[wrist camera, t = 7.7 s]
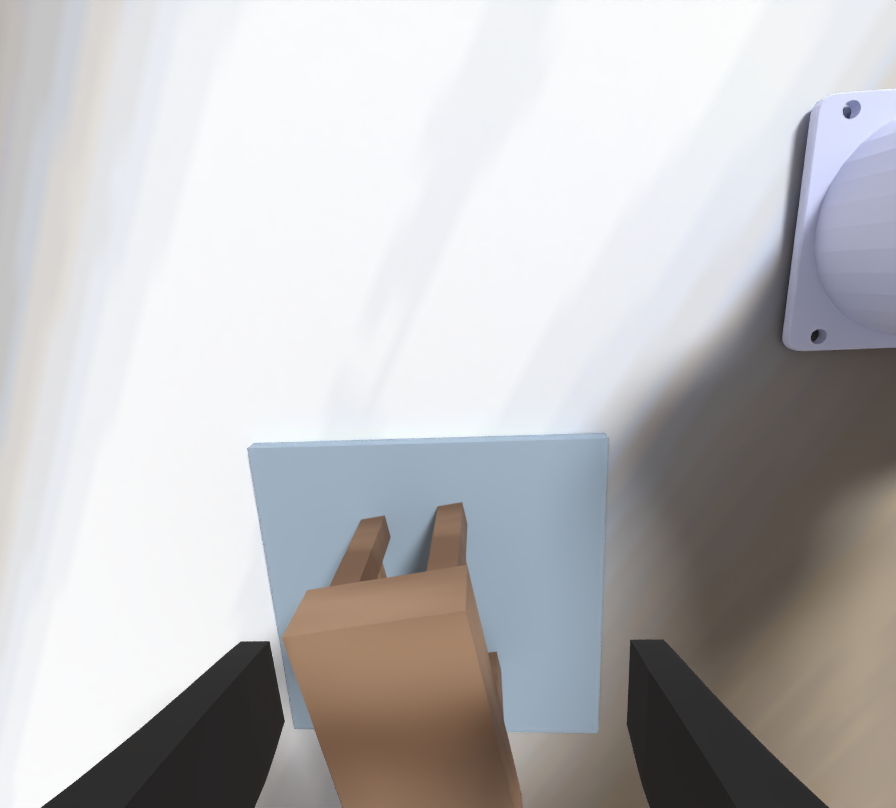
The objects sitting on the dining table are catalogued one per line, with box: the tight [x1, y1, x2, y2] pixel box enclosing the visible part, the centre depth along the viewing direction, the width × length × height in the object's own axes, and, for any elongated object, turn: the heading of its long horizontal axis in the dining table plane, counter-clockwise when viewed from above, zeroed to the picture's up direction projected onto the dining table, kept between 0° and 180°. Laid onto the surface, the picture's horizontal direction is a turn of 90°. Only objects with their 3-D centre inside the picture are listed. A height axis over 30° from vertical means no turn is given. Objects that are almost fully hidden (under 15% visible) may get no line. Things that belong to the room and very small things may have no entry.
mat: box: [247, 433, 609, 733], centre depth 21 cm, size 14×14×1 cm
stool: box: [282, 502, 523, 808], centre depth 17 cm, size 9×5×7 cm, turn 12°
